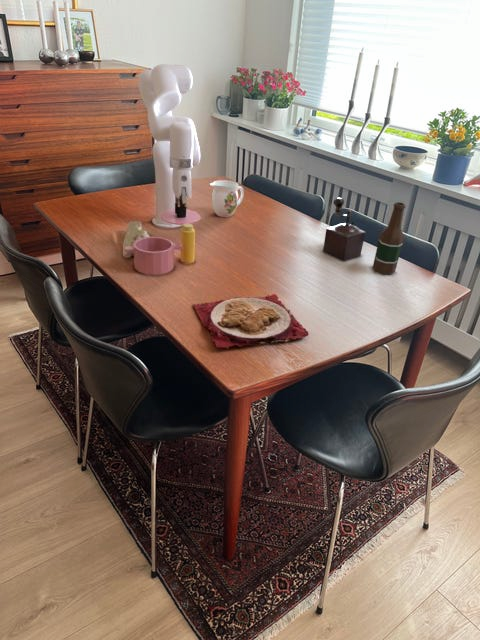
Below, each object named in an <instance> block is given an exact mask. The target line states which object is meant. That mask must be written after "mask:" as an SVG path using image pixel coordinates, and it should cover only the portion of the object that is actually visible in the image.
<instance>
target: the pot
mask: <svg viewBox="0 0 480 640" xmlns="http://www.w3.org/2000/svg"><path fill="white" fill-rule="evenodd" d="M181 249H182V245H181V243H174V242H173V241H172V240H171V239H169V238H165V237H161V236H150V237H145V238H141V239H138V240H136V241H135V242H134V244H133V246H126V247H125V252H134V255H133V266H134V269H135V270H136V271H138V272H139V273H142V274H145V275H151V276H153V275H163V274H167V273H169V272H171V271H172V270H174V267H175V251H176V250H181Z"/></svg>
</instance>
